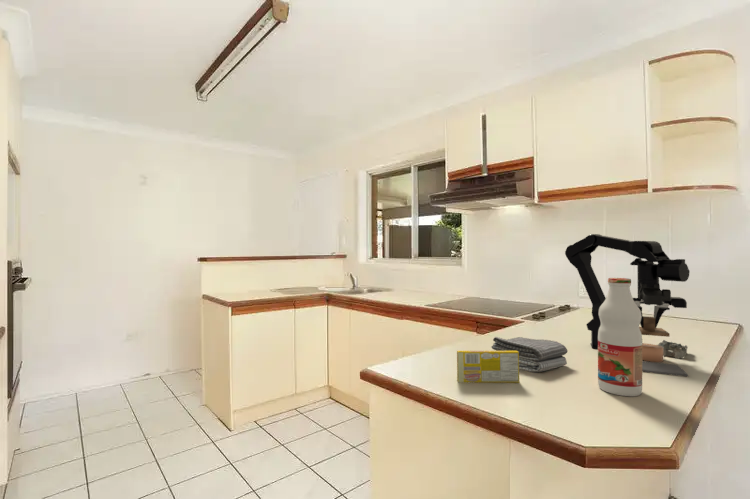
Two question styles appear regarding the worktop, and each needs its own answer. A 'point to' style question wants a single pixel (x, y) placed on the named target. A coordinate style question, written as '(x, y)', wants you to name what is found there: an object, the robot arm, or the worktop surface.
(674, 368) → the mat
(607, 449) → the worktop surface
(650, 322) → the lid
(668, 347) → the egg carton
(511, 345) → the towel
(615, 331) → the fruit juice
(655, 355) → the peach rounded dome
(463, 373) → the candy box
